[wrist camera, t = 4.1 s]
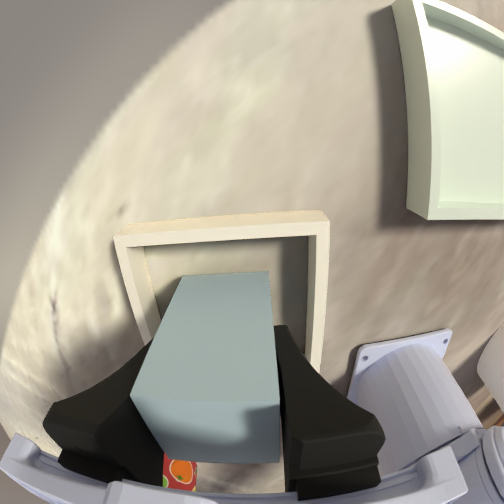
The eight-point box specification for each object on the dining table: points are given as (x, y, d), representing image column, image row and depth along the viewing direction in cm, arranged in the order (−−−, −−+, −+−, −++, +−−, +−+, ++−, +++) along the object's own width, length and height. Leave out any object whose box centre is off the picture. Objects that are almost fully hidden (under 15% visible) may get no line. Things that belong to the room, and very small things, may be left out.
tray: (522, 210, 13) (542, 220, 11) (405, 207, 14) (427, 220, 12) (518, 58, 9) (538, 56, 7) (391, 4, 9) (409, -11, 7)
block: (271, 338, 16) (279, 462, 9) (196, 341, 16) (168, 458, 9) (268, 271, 14) (280, 400, 7) (182, 275, 14) (129, 395, 7)
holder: (313, 359, 18) (318, 380, 16) (166, 363, 18) (159, 384, 16) (320, 209, 14) (329, 221, 12) (128, 223, 14) (112, 236, 12)
